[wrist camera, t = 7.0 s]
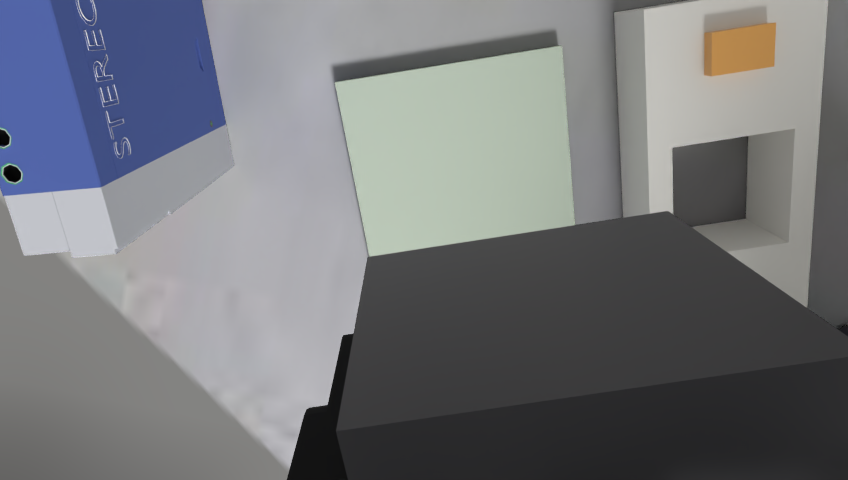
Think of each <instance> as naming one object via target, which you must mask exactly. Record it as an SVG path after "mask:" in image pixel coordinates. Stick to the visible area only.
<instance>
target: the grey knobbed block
mask: <svg viewBox="0 0 848 480" xmlns="http://www.w3.org/2000/svg"><path fill="white" fill-rule="evenodd" d="M336 433H337V437H338V441H339V446H340V450H341V454H342V458H343V462H344V466H345V470H346V474H347V478H348V480H848V336H846V335H845V334H844V333H842V332H841V331H839V330H838V329H836V328H835V327H833V326H832V325H831V324H829V323H828V322H826V321H825V320H823V319H822V318H821V317H819V316H818V315H816V314H815V313H813V312H812V311H811V310H809V309H808V308H806V307H805V306H803V305H802V304H801V303H799V302H798V301H796V300H795V299H793V298H792V297H791V296H789V295H788V294H786V293H785V292H783V291H782V290H781V289H779V288H778V287H776V286H775V285H773V284H772V283H771V282H769V281H768V280H766V279H765V278H763V277H762V276H761V275H759V274H758V273H756V272H755V271H753V270H752V269H751V268H749V267H748V266H746V265H745V264H743V263H742V262H741V261H739V260H738V259H736V258H735V257H733V256H732V255H731V254H729V253H728V252H726V251H725V250H723V249H722V248H720V247H719V246H718V245H716V244H715V243H713V242H712V241H710V240H709V239H708V238H706V237H705V236H703V235H702V234H700V233H699V232H698V231H696V230H695V229H693V228H692V227H690V226H689V225H688V224H686V223H685V222H683V221H682V220H680V219H679V218H678V217H676V216H675V215H673V214H672V213H670V212H669V211H664V212H657V213H651V214H644V215H638V216H631V217H625V218H618V219H612V220H605V221H599V222H592V223H586V224H579V225H573V226H566V227H560V228H553V229H546V230H540V231H533V232H527V233H520V234H514V235H507V236H501V237H494V238H488V239H481V240H475V241H468V242H462V243H455V244H449V245H442V246H436V247H429V248H423V249H416V250H410V251H403V252H397V253H390V254H384V255H377V256H371V257H368V258H367V264H366V269H365V275H364V280H363V285H362V291H361V296H360V302H359V307H358V313H357V318H356V324H355V329H354V335H353V340H352V346H351V351H350V357H349V362H348V368H347V373H346V379H345V384H344V390H343V395H342V401H341V406H340V412H339V417H338V423H337V428H336Z"/></svg>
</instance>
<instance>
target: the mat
mask: <svg viewBox="0 0 848 480" xmlns="http://www.w3.org/2000/svg"><path fill="white" fill-rule="evenodd" d="M335 86H336V91H337V96H338V101H339V106H340V111H341V116H342V121H343V126H344V131H345V136H346V141H347V146H348V151H349V156H350V161H351V166H352V172H353V177H354V182H355V187H356V192H357V197H358V202H359V207H360V212H361V217H362V222H363V227H364V232H365V237H366V242H367V247H368V252H369V257H371V256H377V255H384V254H390V253H397V252H403V251H410V250H416V249H423V248H429V247H436V246H442V245H449V244H455V243H462V242H468V241H475V240H481V239H488V238H494V237H501V236H507V235H514V234H520V233H527V232H533V231H540V230H546V229H553V228H560V227H566V226H573V225H575V218H574V204H573V190H572V176H571V163H570V149H569V135H568V122H567V108H566V94H565V81H564V67H563V53H562V46H553V47H546V48H540V49H534V50H528V51H522V52H516V53H510V54H503V55H497V56H491V57H485V58H479V59H473V60H466V61H460V62H454V63H448V64H442V65H436V66H429V67H423V68H417V69H411V70H405V71H399V72H393V73H386V74H380V75H374V76H368V77H362V78H356V79H349V80H343V81H337V82H335Z"/></svg>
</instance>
